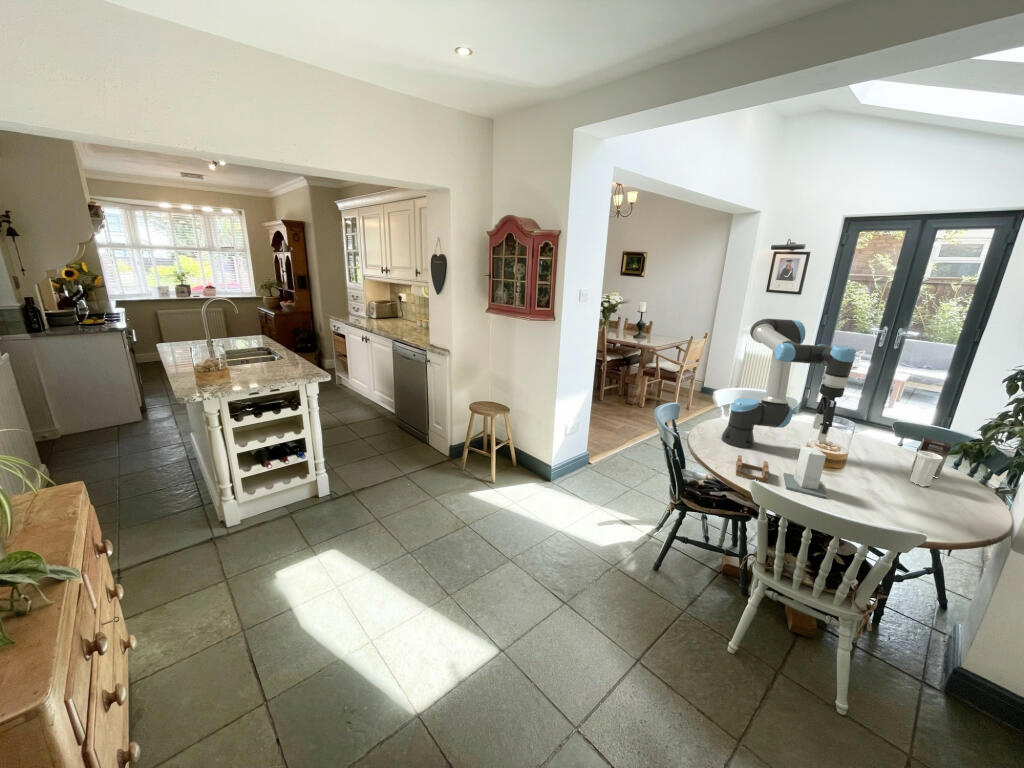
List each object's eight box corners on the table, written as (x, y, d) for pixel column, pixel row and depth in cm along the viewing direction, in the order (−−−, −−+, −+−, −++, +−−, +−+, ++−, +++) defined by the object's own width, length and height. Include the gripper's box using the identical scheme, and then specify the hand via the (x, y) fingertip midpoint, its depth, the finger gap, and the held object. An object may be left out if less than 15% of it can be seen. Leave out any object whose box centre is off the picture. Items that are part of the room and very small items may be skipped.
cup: (925, 481, 185) (936, 452, 181) (936, 490, 178) (948, 460, 174) (902, 477, 188) (913, 449, 183) (912, 486, 180) (924, 456, 176)
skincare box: (817, 490, 172) (827, 456, 167) (799, 487, 173) (809, 454, 168) (808, 480, 179) (818, 447, 175) (791, 477, 181) (801, 445, 176)
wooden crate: (735, 464, 193) (738, 454, 191) (765, 471, 187) (768, 461, 186) (735, 475, 183) (737, 465, 181) (766, 483, 177) (769, 472, 176)
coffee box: (911, 471, 193) (923, 440, 189) (911, 467, 198) (922, 436, 193) (938, 479, 188) (951, 447, 183) (937, 474, 192) (950, 443, 187)
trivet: (783, 474, 185) (783, 472, 185) (821, 483, 179) (821, 481, 179) (785, 488, 173) (786, 486, 173) (826, 499, 167) (827, 496, 167)
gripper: (817, 376, 175) (804, 422, 181) (826, 392, 154) (811, 443, 160) (839, 379, 171) (824, 426, 178) (851, 396, 150) (835, 448, 157)
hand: (818, 434), depth 169 cm, fingers open, 13 cm apart
